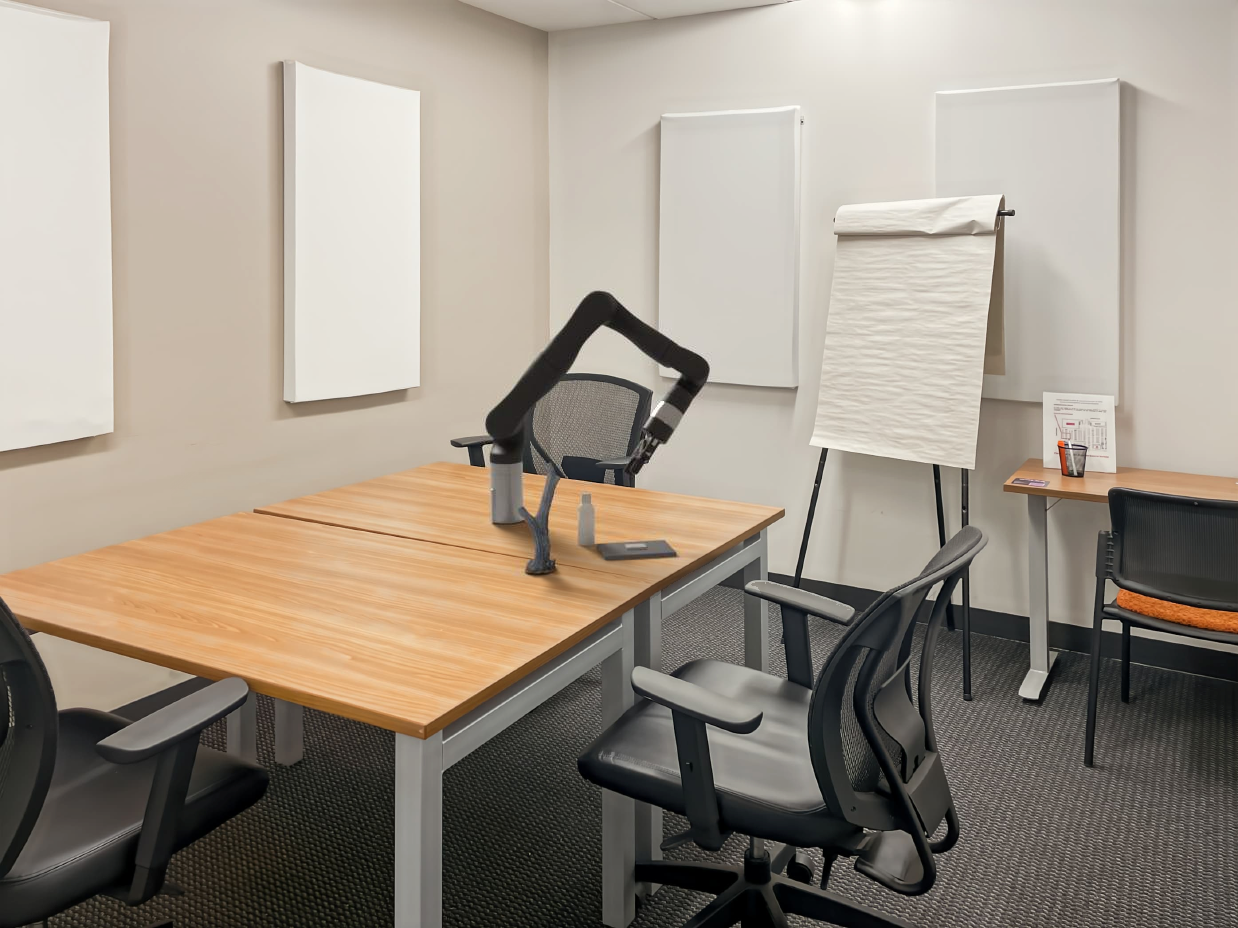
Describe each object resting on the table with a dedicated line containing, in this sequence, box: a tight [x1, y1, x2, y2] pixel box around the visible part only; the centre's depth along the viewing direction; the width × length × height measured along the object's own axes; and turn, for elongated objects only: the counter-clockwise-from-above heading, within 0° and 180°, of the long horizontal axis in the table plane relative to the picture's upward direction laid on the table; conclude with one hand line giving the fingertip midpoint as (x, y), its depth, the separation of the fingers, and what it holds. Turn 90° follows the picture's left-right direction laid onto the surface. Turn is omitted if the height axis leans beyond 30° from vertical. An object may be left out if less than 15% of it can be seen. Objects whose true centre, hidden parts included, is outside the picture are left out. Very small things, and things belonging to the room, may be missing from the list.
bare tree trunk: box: [518, 462, 561, 574], centre depth 229 cm, size 12×8×25 cm
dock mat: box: [596, 539, 677, 561], centre depth 245 cm, size 18×12×2 cm, turn 101°
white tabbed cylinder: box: [577, 492, 596, 547], centre depth 252 cm, size 4×4×14 cm
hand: (629, 473), depth 254 cm, fingers open, 8 cm apart
